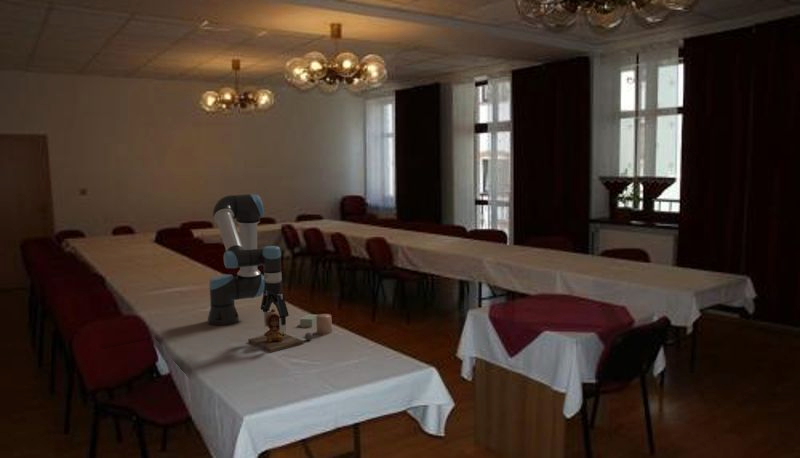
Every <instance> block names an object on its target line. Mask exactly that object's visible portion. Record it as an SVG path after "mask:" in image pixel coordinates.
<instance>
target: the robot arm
mask: <svg viewBox="0 0 800 458" xmlns="http://www.w3.org/2000/svg"><path fill="white" fill-rule="evenodd" d="M263 204H264V203H263V200H262V198H261V196H259V195H258V194H235V195H232V194H231V195H229V194H228V195H225V196H223V197H220V199H219V200H218V201H216V203H215V204H214V207H213V209H212V217H213V221H214V222H215V224H216V225H217V227H218V229H219V233H220V237H221V239H222V243H223V245H224V246H223V247H224V248H225V252H224V253H223V264H224V266H225V268H226V269H237V268H239V270H238V272H237V273H236V275H237V276H234V275H233V274H230V273H229V274H221V275H217V276H214V277H212V278H211V279H210V280H209V288H208V289H209V298H210V299H209V301H210V309H209V311H208V312H209V313H208V315H207V324H209V325H211V326H226V325H232V324H235V323H237V322H239V321H240V319H239V312H238V311H237V309H236V306H235V301H236V300H237V301H238V300H244V299H254V298H259V297H261V296H262V299H261V304H260V310H262V312H263V322H264V324H263V325H264V327H268V326H267V322H266V319H267V316H268V314H269V313H270V311H271V309H270V308H271V306H272V304H273V305H274V306H275V307H276V311H277V312H278V313H279V315H280V317H279V327H280V333H281V332H284V333H285V332H287V325H286V324H287V321H286V318H287V317H289V316H290V315H289V310H288V307H287V304H286V299H285V294H284V293H282V294H281V291H282V289H283V285H282V280H283V278H282V276H283V275H282V259H281V258H282V253H281V248H280V247H279V246H278V245H267V246H264V247H263V246H262V247H260V248H258V224H259V223H261V218H263V217H264V214H265V210H264V205H263ZM234 219H235V220H234ZM235 222H236V223H237V224H238V226H239V232H238V228H237V227H236V223H235ZM260 266H263V274H262V273H261V271H260V270H259V269H258V267H260Z"/></svg>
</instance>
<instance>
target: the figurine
mask: <svg viewBox="0 0 800 458" xmlns="http://www.w3.org/2000/svg"><path fill="white" fill-rule="evenodd" d="M279 317H280V315H279V313H278V311H277V310H276V309H275V308H272V309H270V313H269V314H268V316H267V319H266V322H267V326H266V327H267V328H268V329H269V330H267V331H266V332H264V334H263V335H264V336H267V342H268V343H272V342H282V340H283V336H285V335H286V333H285V332H281V333H280V327H279Z"/></svg>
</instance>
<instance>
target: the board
mask: <svg viewBox="0 0 800 458" xmlns="http://www.w3.org/2000/svg"><path fill="white" fill-rule="evenodd" d="M285 334H286V333H285ZM247 340H248V343H249V344H251V345H254V346H257V347H258V348H260V349H263V350H265V351H267V352H269V353H274V352H275V353H276V352H278V351H283V350H286V349H290V348H293V347H298V346H301V345H304V340H303V339H299V338H298V337H296V336H295V337H294V336H292V335H290V334H286V335H285V336H283V340H282V342H272V343H268V342H267V336H264V334H263V335H260V336H255V337H249V338H248V339H247Z"/></svg>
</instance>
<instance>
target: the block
mask: <svg viewBox="0 0 800 458" xmlns="http://www.w3.org/2000/svg"><path fill="white" fill-rule="evenodd" d="M317 315H318V314H310V313H309V314H305V315H304V316H302V317H301V318H300V319H299V321H300V322H299V324H300V327H302V328H303V327H306V328H313V327H314V326H316V325H317V320H316V316H317Z"/></svg>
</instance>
